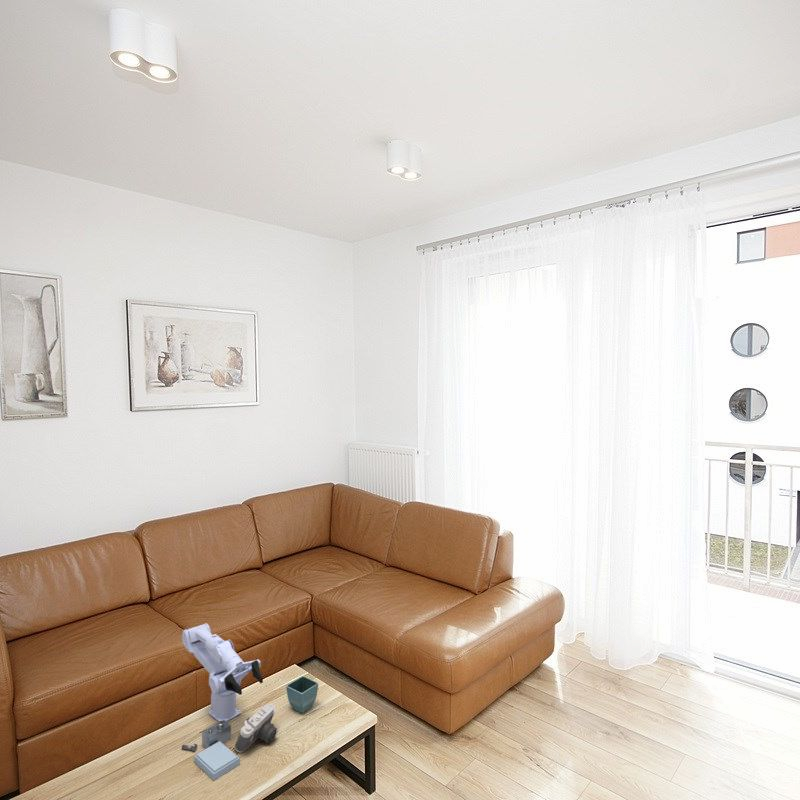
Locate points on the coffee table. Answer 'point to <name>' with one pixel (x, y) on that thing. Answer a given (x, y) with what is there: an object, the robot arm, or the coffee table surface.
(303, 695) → the flower pot
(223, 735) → the block
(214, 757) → the stand
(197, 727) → the coffee table surface
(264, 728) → the camera
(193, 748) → the bolt
